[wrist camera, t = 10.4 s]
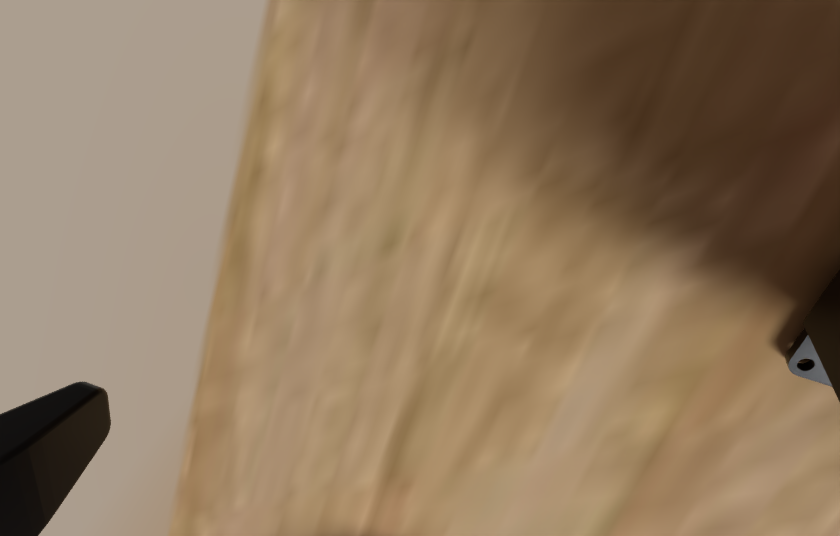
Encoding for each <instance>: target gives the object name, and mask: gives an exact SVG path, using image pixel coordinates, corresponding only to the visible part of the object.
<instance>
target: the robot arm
mask: <svg viewBox="0 0 840 536" xmlns="http://www.w3.org/2000/svg"><path fill="white" fill-rule="evenodd" d="M803 325H804V327H805V328H804V329H803V331H802V332H801V334H800V335H799V336H798V338H797V339H796V341H795V342H794V343H793V345H792V346H791V348H790V349H789V351H788V352H787V354H786V357H785V358H786V363H787V365H788V368H789V370H790V371H791V372H792V373H793V374H795V375H797V376H800V377H803V378H806V379H809V380H813V381H816V382H819V383H822V384H825V385H829V386H832V387H833V389H834V391H835V393H836V395H837V397H838V400H839V402H840V270H839V271H838V273H837V274H836V276H835V277H834V279H833V280H832V281H831V283H830V284H829V286H828V287H827V288H826V290H825V291H824V293H823V294H822V296H821V297H820V298H819V300H818V301H817V303H816V304H815V306H814V307H813V308H812V310H811V311H810V313H809V314H808V316H807V317H806V318H805V320H804V322H803ZM805 358H806V359H811V360H810V361H808V362H806V363H798V362H799V361H800V360H802V359H805ZM110 425H111V420H110V411H109V402H108V395H107V392H106V391H105V390H104V389H103V388H101V387H98V386H95V385H92V384H90V383H87V382H76V383H73V384H71V385H68V386H66V387H64V388H61V389H59V390H57V391H54V392H52V393H49V394H47V395H45V396H42V397H40V398H38V399H35V400H33V401H30V402H28V403H26V404H23V405H21V406H19V407H16V408H14V409H11V410H9V411H7V412H4V413H2V414H0V536H38V535H39V534H40V533H41V531H42V530H43V529H44V527H45V526H46V525H47V524H48V522H49V521H50V519H51V518H52V517H53V515H54V514H55V512H56V511H57V509H58V508H59V506H60V505H61V504H62V502H63V501H64V499H65V498H66V496H67V495H68V493H69V492H70V490H71V489H72V488H73V486H74V485H75V483H76V482H77V480H78V479H79V477H80V476H81V474H82V473H83V471H84V470H85V468H86V467H87V465H88V464H89V462H90V461H91V460H92V458H93V457H94V455H95V454H96V452H97V450H98V449H99V447H100V446H101V445H102V443H103V442H104V440H105V438H106V437H107V435H108V433H109V430H110Z"/></svg>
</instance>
